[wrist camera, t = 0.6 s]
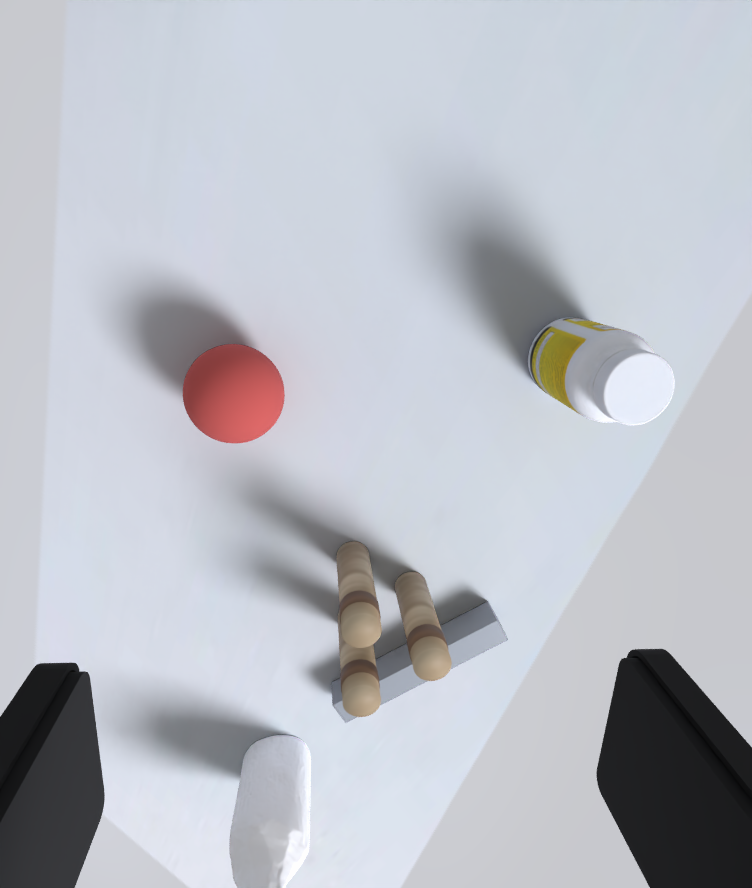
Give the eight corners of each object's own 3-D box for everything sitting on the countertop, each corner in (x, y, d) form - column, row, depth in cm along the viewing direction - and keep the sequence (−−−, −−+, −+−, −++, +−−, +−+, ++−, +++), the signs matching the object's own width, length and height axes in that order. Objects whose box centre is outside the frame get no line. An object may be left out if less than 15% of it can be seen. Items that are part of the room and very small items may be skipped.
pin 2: (387, 588, 45) (404, 668, 36) (409, 565, 44) (431, 641, 36) (411, 605, 45) (433, 688, 37) (433, 583, 45) (460, 661, 36)
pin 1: (330, 618, 45) (333, 704, 36) (351, 596, 45) (359, 678, 36) (354, 635, 46) (363, 723, 37) (376, 613, 45) (390, 697, 37)
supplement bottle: (540, 407, 41) (604, 454, 32) (515, 336, 39) (576, 364, 30) (612, 375, 41) (698, 413, 32) (590, 302, 39) (674, 320, 30)
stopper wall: (331, 682, 47) (332, 705, 45) (487, 601, 46) (497, 620, 44) (344, 699, 48) (345, 723, 45) (498, 619, 46) (508, 639, 44)
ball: (174, 388, 38) (150, 413, 33) (231, 317, 37) (216, 330, 32) (249, 444, 40) (238, 476, 34) (305, 377, 39) (303, 400, 33)
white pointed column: (259, 958, 39) (197, 918, 37) (272, 797, 50) (225, 760, 48) (328, 910, 38) (268, 867, 36) (325, 758, 49) (280, 719, 48)
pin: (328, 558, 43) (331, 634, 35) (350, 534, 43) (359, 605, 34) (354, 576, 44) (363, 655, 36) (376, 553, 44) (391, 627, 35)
